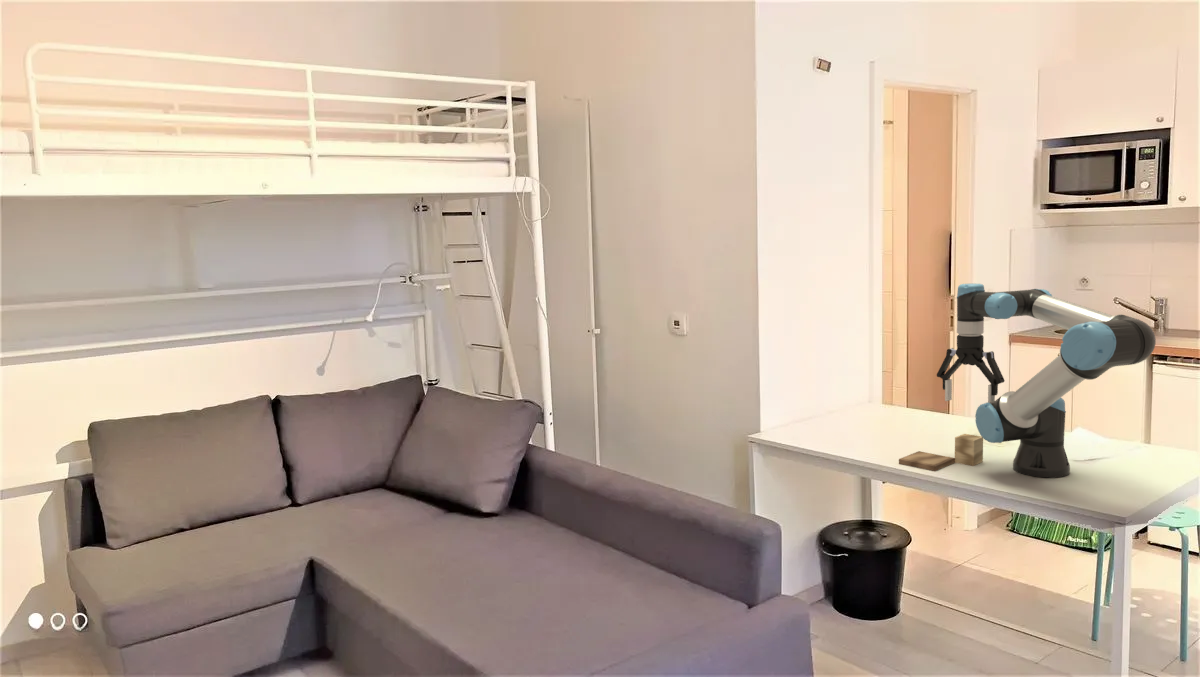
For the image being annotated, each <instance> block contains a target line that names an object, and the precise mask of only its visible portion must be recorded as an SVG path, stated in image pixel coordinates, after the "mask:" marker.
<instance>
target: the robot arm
mask: <svg viewBox="0 0 1200 677" xmlns="http://www.w3.org/2000/svg"><path fill="white" fill-rule="evenodd" d="M1022 316H1023V317H1024V316H1026V317H1027V316H1028V317H1031V318H1034V319H1037V320H1040V321H1043V322H1046V323H1048V324H1051V325H1053V326H1057V327H1060V328H1062V329H1064V330H1067V331H1066V332H1064V335H1063V336H1062V339H1061V340H1062V342H1061V343H1060V347H1059V348H1060V349H1059V355H1058V356H1057V357H1055V359H1053V360H1052V361H1050V362H1049V363H1048V364H1047V365H1046V366H1045V367H1043V368H1042V369H1041V370H1040V371H1038V372H1037V373H1036V374H1034V376H1032V377H1031V378H1030V379H1029V380H1027V381H1026V382H1025V383H1023V385H1022V386H1020V387H1019V388H1018V389H1016V390H1015V391H1007V392H1005V393H1003V394H1002V395H1000V396H999V397H998V398H997V399H995V397H996V396H997V395H998V391H999V390H998V388H999V387H998V386H999V385H1001V384H1002V383H1004V382H1005V378H1004V376H1003V374H1002V371H1001V370H1000V367H999V365H998V364H997V361H996V359H995V352H994V351H993V350H992V351H985V350H984V340H985V339H984V335H983V334H984V332H985V330H984V328H985V327H984V324H985V323H984V322H985V321H984V320H985V318H990V319H994V320H1007V319H1010V318H1012V317H1022ZM956 320H957V321H956V333H957V334H958V335H957V336H956V349H954V347H951V348H948V349H947V350H946V355H945V357H944V359H943V361H942V363H941V365H940V366H939V369H938V371H937V373H936V377H937V378H940V379H942V390H944V401H945V402H949V401H952V400H953V399H952V395H953V394H952V392H953V390H952V385H953V383H952V382H953V380H952V379H951V377H952V376H953V374H954V373H955V372H956V371H957V370H958V369H959V368H960V367H961V366H962V365H965V366H966V365H970V366H975V367H977V368H978V369H979V370H980V372H981V373H982V374H983V376H984V377H985V378H986V379H987V381H988V382H989V383H990V384H988V388H987V391H988V392H987V395H988V396H987V402H984V403H981V404H980V405H978V407H977V408H976V411H975V416H974V417H975V419H974V420H975V426H976V429H977V431H978V433H979V436H981V437H983V440H984V441H986V442H988V443H991V444H995V443H996V444H1001V443H1004V442H1005V443H1006V442H1013V441H1019V445H1018V448H1017V451H1016V454H1015V457H1014V458H1013V461H1012V469H1013V470H1014V471H1015V472H1017V473H1019V474H1023V475H1026V476H1029V477H1038V478H1062V477H1066V476H1068V475H1070V473H1071V472H1070V469H1071V466H1070V462H1069V459H1068V455H1067V452H1066V450H1065V428H1066V426H1065V425H1066V413H1067V411H1066V402H1065V400H1064V399H1063V398H1062V397H1064V396H1066V394H1067V393H1068V392H1070V391H1071V390H1073V389H1074V388H1075V387H1077V386H1078V385H1079V384H1081V383H1083V381H1085V380H1089V381H1090V380H1095V379H1098V378H1099V377H1100V376H1102V375H1103V374H1104V373H1106V372H1107V371H1108V370H1110V369H1111V368H1114V367H1122V366H1133V365H1136V364H1139V363H1142V362H1144V361H1145V360H1146V359H1148V358H1149V357H1150V356H1151V355H1152V353H1153V352H1154V350H1155V346H1156V335H1155V332H1154V331H1153V329H1152V327H1151V326H1150V325H1149V324H1148V323H1146V322H1145V321H1143V320H1141V319H1138V318H1135V317H1131V316H1129V315H1125V314H1116V315H1112V314H1108V313H1106V312H1102V311H1099V310H1096V309H1093V308H1091V307H1087V306H1083V305H1081V304H1077V303H1075V302H1071V301H1068V300H1066V299H1062V298H1058V297H1056V296H1053V295H1052V293H1051V292H1050V291H1049V290H1047V289H1044V288H1043V289H1042V288H1041V289H1040V288H1032V289H1023V290H1021V289H1020V290H1008V291H997V292H996V291H994V292H993V291H986V290H985V286H984V284H982V283H961V284H959V285H958V287H957V295H956ZM954 356H957V359H956V360H955V361H954V363H953V364H952V365H951V366H950V363H952V360H953V358H954ZM983 358H985V359H986V361H987V363H988V366H989V367H988V366H987V364H986V362H985V361H984V359H983ZM949 366H950V368H949ZM947 369H948V370H947Z"/></svg>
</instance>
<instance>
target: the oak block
mask: <svg viewBox="0 0 1200 677" xmlns="http://www.w3.org/2000/svg"><path fill="white" fill-rule="evenodd" d="M983 454H984V438H983V437H982V436H981V435H975V434H967V433H962V434H960V435H958V436H955V437H954V458H955V463H957V464H962V465H966V466H972V467H975V466H977V465H978V464H981V463H983V462H984V460H983V459H984V458H983V457H984V455H983ZM955 463H954V464H955Z"/></svg>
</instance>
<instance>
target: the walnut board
mask: <svg viewBox="0 0 1200 677" xmlns="http://www.w3.org/2000/svg"><path fill="white" fill-rule="evenodd" d="M898 464H899V465H903V466H908V467H913V468H917V469H923V470H927V471H932V472H936V471H939V470H941V469H943V468H946V467H948V466H950V465H954V464H955V457H951V456H946V455H940V454H935V453H931V452H930V453H929V452H926V451H925V452H924V451H919V450H918V451H916V452H913V453H910V454H907V455H906V456H903V457H901V458H898Z"/></svg>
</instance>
